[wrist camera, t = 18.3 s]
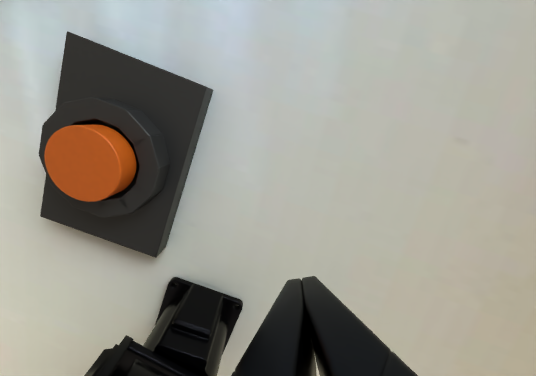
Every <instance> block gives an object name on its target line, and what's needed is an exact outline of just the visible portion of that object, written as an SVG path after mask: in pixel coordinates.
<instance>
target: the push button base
mask: <svg viewBox="0 0 536 376" xmlns="http://www.w3.org/2000/svg"><path fill="white" fill-rule="evenodd" d="M212 92H213V90H212V89H210V88H208V87H205V86H203V85H200V84H198V83H195V82H193V81H190V80H188V79H185V78H183V77H180V76H178V75H175V74H173V73H170V72H168V71H165V70H163V69H160V68H158V67H155V66H153V65H150V64H148V63H145V62H143V61H140V60H138V59H135V58H133V57H130V56H128V55H125V54H123V53H120V52H118V51H115V50H113V49H110V48H108V47H105V46H103V45H100V44H98V43H95V42H93V41H90V40H88V39H85V38H83V37H80V36H78V35H75V34H73V33H70V32H67V35H66V42H65V49H64V56H63V63H62V70H61V77H60V83H59V90H58V97H57V104H56V111H55V112H54V113H53V114H52V116H51V117H50V118H49V119H48V120H47V121H46V122H45V123H44V125H43V127H42V135H41V142H40V150H39V156H40V159H41V162H42V164H43V167H44V169H45V172H46V180H45V187H44V194H43V201H42V208H41V215H40V216H41V217H44V218H46V219H49V220H52V221H55V222H58V223H60V224H63V225H66V226H69V227H72V228H75V229H77V230H80V231H83V232H86V233H89V234H91V235H94V236H97V237H100V238H103V239H105V240H108V241H111V242H114V243H117V244H119V245H122V246H125V247H128V248H131V249H134V250H136V251H139V252H142V253H145V254H148V255H150V256H153V257H157V256H158V255H159V254H160V253H161V251H162V250H163V249H164V248H165V247H166V244H167V241H168V237H169V234H170V231H171V228H172V224H173V221H174V218H175V214H176V211H177V208H178V204H179V201H180V198H181V195H182V191H183V188H184V185H185V181H186V178H187V175H188V171H189V168H190V165H191V162H192V158H193V155H194V152H195V148H196V145H197V142H198V138H199V135H200V132H201V129H202V125H203V122H204V119H205V115H206V112H207V109H208V106H209V102H210V99H211V96H212ZM72 125H104V126H107V127H110V128H112V129H114V130H116V131H117V132H119V133H120V134H121V135H122V136H123V137H124V138H125V139H126V140H127V141H128V142H129V144H130V145H131V147H132V149H133V151H134V154H135V157H136V173H135V176H134V179H133V181H132V182H131V184H130V185H129V186H128V187H127V188H126V189H124V190H122V191H121V192H118V193H116V194H114V195H112V196H110V197H108V198H106V199H103V200H100V201H95V202H86V201H80V200H77V199H75V198H72V197H70V196H68V195H67V194H65V193H64V192H63V191H61V190H60V189H59V188H58V187H57V186H56V185H55V183H54V182H53V181H52V179H51V177H50V176H49V174H48V171H47V168H46V165H45V157H44V155H45V148H46V145H47V142H48V140H49V139H50V137H51V136H52V135H53V134H54V133H55V132H56V131H58V130H59V129H61V128H63V127H66V126H72Z"/></svg>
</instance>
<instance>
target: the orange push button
mask: <svg viewBox="0 0 536 376" xmlns="http://www.w3.org/2000/svg"><path fill="white" fill-rule="evenodd" d="M44 157H45V165H46V168H47V171H48V174H49V176H50V177H51V179H52V181H53V182H54V183H55V185H56V186H57V187H58V188H59V189H60V190H61V191H63V192H64V193H65V194H67V195H68V196H70V197H72V198H75V199H77V200H80V201H86V202H95V201H100V200H103V199H106V198H108V197H110V196H112V195H114V194H116V193H118V192H121V191H122V190H124V189H126V188H127V187H128V186H129V185H130V184H131V182H132V181H133V179H134V176H135V173H136V157H135V154H134V151H133V149H132V147H131V145H130V144H129V142H128V141H127V140H126V139H125V138H124V137H123V136H122V135H121V134H120V133H119V132H117V131H116V130H114V129H112V128H110V127H107V126H104V125H72V126H66V127H63V128H61V129H59V130H58V131H56V132H55V133H54V134H53V135H52V136H51V137H50V139H49V140H48V142H47V145H46V148H45V155H44Z"/></svg>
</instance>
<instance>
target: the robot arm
mask: <svg viewBox="0 0 536 376" xmlns="http://www.w3.org/2000/svg"><path fill="white" fill-rule="evenodd" d="M174 283H176V284H177V285H175V284H174ZM235 305H239V306H235ZM242 306H243V303H242V301H241V300H240V299H237V298H234V297H231V296H229V295H226V294H223V293H220V292H217V291H214V290H212V289H209V288H206V287H203V286H200V285H197V284H195V283H192V282H189V281H186V280H183V279H180V278H177V277H174V278H172V279H171V280H170V282H169V284H168V287H167V290H166V293H165V296H164V299H163V302H162V305H161V309H160V312H159V315H158V318H157V321H156V324H155V327H154V328H153V330H152V332H151V333H150V335H149V337H148V338H147V340H146V342H145V343H144V345H143V346H142V345H140V344H138V343H136V342H135V341H133V338H131V337H129V336H127V335H126V336H125V338H124V339H123V340H122V342H121V343H120V344H119V345H117V344H116V345H115V346H114V347H113V348H112V349H104V351H103V352H102V353H101V355H100V356H99V357H98V359H97V360H96V361H95V363H94V364H93V365H92V366H91V368H90V369H89V370H88V372H87V373H86V374H85V375H84V376H217V373H218V369H219V364H220V360H221V356H222V354H223V352H224V349H225V347H226V345H227V342H228V340H229V338H230V335H231V333H232V331H233V328H234V326H235V324H236V321H237V319H238V317H239V314H240V312H241V310H242ZM314 353H315V354H314ZM315 358H316V362H317V366H318V370H319V374H320V376H418V375H417V374H416V373H414V372H413V371H412V370H411V369H410V368H409V367H408V366H407V365H406V364H405V363H404V362H403V361H402V360H401V359H400V358H399V357H398V356H397V355H396V354H395V353H394V352H391V350H390V349H389V348H388V347H387V346H386V345H385V344H384V343H383V342H382V341H381V340H380V339H379V338H378V337H377V336H376V335H375V334H374V333H373V332H372V331H371V330H370V329H369V328H368V327H367V326H366V325H365V324H364V323H363V322H361V321H360V320H359V319H358V318H357V317H356V316H355V315H354V314H353V313H352V312H351V311H350V310H349V309H348V308H347V307H346V306H345V305H344V304H343V303H342V302H341V301H340V300H339V299H338V298H337V297H336V296H335V295H334V294H333V293H332V292H331V291H330V290H329V289H328V288H327V287H325V286H324V285H323V284H322V283H321V282H320V281H319V280H318V279H317V278H316V277H315V276H311V277H305V278H302V281H301V279H292V280H288V281H287V282H286V284H285V285H284V287H283V289H282V291H281V292H280V294H279V296H278V297H277V299H276V301H275V302H274V304H273V306H272V308H271V309H270V311H269V313H268V314H267V316H266V318H265V319H264V321H263V323H262V325H261V326H260V328H259V330H258V331H257V333H256V335H255V336H254V338H253V340H252V342H251V343H250V345H249V347H248V348H247V350H246V352H245V353H244V355H243V357H242V358H241V360H240V362H239V364H238V365H237V367H236V369H235V371H234V372H233V373H232V375H231V376H316V362H315Z"/></svg>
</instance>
